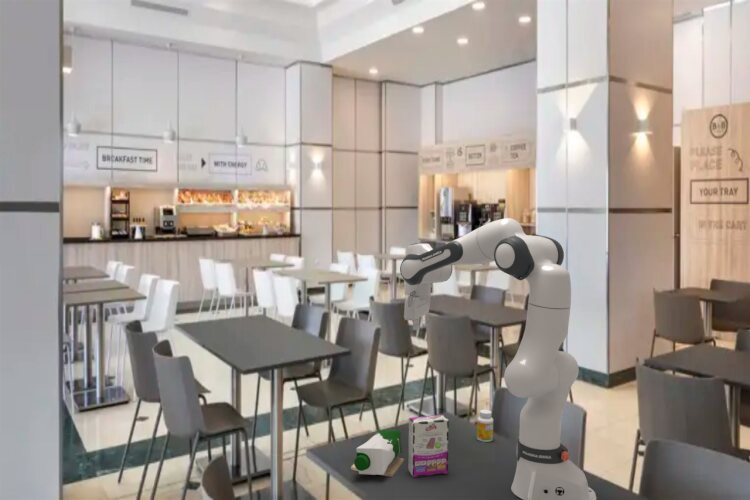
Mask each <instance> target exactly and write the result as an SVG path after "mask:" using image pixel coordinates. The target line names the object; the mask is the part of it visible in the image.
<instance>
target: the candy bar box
mask: <svg viewBox="0 0 750 500" xmlns="http://www.w3.org/2000/svg"><path fill="white" fill-rule="evenodd" d="M449 423H450V422H449V418H447V417H446V416H445V415H444V414H439V415H438V414H437V415H427V416H415V417H409V418H408V457H407V458H408V460H407V461H408V466H407V467H408V469H407V470H408V472H409V473H410V475H411V476H412V477H413V478H420V477H429V476H436V475H439V476H440V475H446V474H447V475H448V473H449V429H450V428H449V426H450V425H449Z"/></svg>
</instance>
